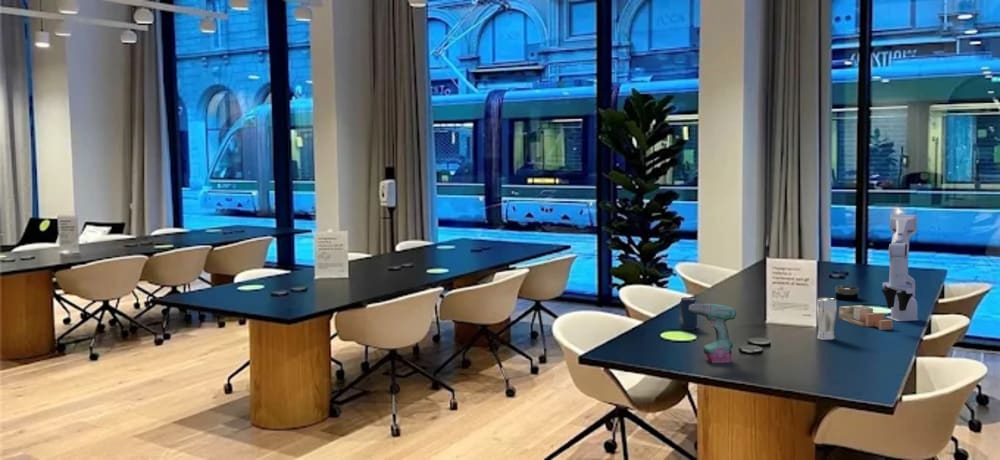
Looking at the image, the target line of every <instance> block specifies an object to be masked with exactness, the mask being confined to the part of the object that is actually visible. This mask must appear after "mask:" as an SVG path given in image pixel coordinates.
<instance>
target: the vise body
mask: <svg viewBox="0 0 1000 460" xmlns="http://www.w3.org/2000/svg"><path fill="white" fill-rule="evenodd" d="M854 307H866V306H865V305H845V306H839V307H838V319H839V320H842V321H846V322H848V323H851V324H854V325H857V326H859V327H866V323H861V322H858V321H855V320H853V316H854Z"/></svg>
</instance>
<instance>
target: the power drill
mask: <svg viewBox="0 0 1000 460" xmlns="http://www.w3.org/2000/svg"><path fill="white" fill-rule="evenodd" d="M689 311H690V312H692V313H694V314H697V316H698V315H699V316H703V317H705V318H706V320H707V321H709V322H710V327H711V328H714V330H715V331H714V332H715V338H716V339H715V341H713V342H711V343H709V344H708V343H707V344H706V345H704V346H703V353H704V354H705V356H706V357H707V359H708V361H709V362H711V363H713V364H714V363H715V364H721V363H722V364H725V363H731V362H732V353H733V351H732V348H733V346H734V344H733V341H730V335H729V330H728V327H727V324H726V322H727V321H731V320H736V319H735V318H736V316H737V311H736V308H734V307H732V306H728V305H724V304H717V303H704V304H702V303H697V304H691V305H689Z"/></svg>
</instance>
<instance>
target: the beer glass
mask: <svg viewBox="0 0 1000 460" xmlns="http://www.w3.org/2000/svg"><path fill="white" fill-rule="evenodd" d="M837 312H838V311H837V300H836V298H834V297H833V298H831V297H819V298H817V302H816V317H817V318H816V319H817V323H818V324H817V327H818V332H817V336H816V337H817V339H818V340H821V341H833V340H835V333H834V332H835V331H834V328H835V323H836V319H837Z"/></svg>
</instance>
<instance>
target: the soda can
mask: <svg viewBox="0 0 1000 460" xmlns="http://www.w3.org/2000/svg"><path fill="white" fill-rule="evenodd" d="M691 304H698V302H697V299H696V297H690V296H686V297H685V296H684V297H681V298H680V301H679V327H680V328H681V329H683V330H694V329H696V328H697V327H698V314H694V313H692V312H690V311H689V305H691Z"/></svg>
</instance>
